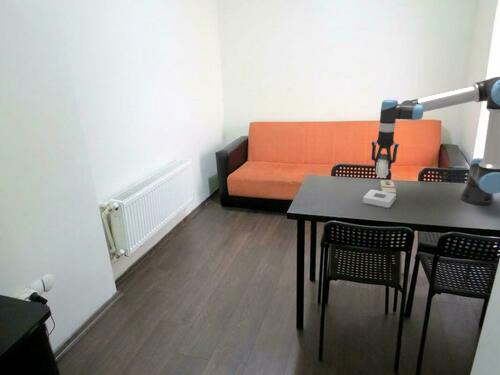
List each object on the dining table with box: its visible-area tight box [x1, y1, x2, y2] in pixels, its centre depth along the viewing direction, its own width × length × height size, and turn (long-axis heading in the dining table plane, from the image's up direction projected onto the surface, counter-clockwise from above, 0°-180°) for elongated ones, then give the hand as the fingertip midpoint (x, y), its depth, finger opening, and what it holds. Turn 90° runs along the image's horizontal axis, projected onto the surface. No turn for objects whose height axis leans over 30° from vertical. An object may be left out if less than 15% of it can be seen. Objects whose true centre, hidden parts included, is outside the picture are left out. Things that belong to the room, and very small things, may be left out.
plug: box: [376, 153, 388, 179], centre depth 186 cm, size 5×5×12 cm
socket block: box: [362, 189, 397, 209], centre depth 193 cm, size 14×14×4 cm
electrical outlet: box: [379, 179, 397, 195], centre depth 207 cm, size 7×4×18 cm
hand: (381, 173), depth 188 cm, fingers closed on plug, 4 cm apart
